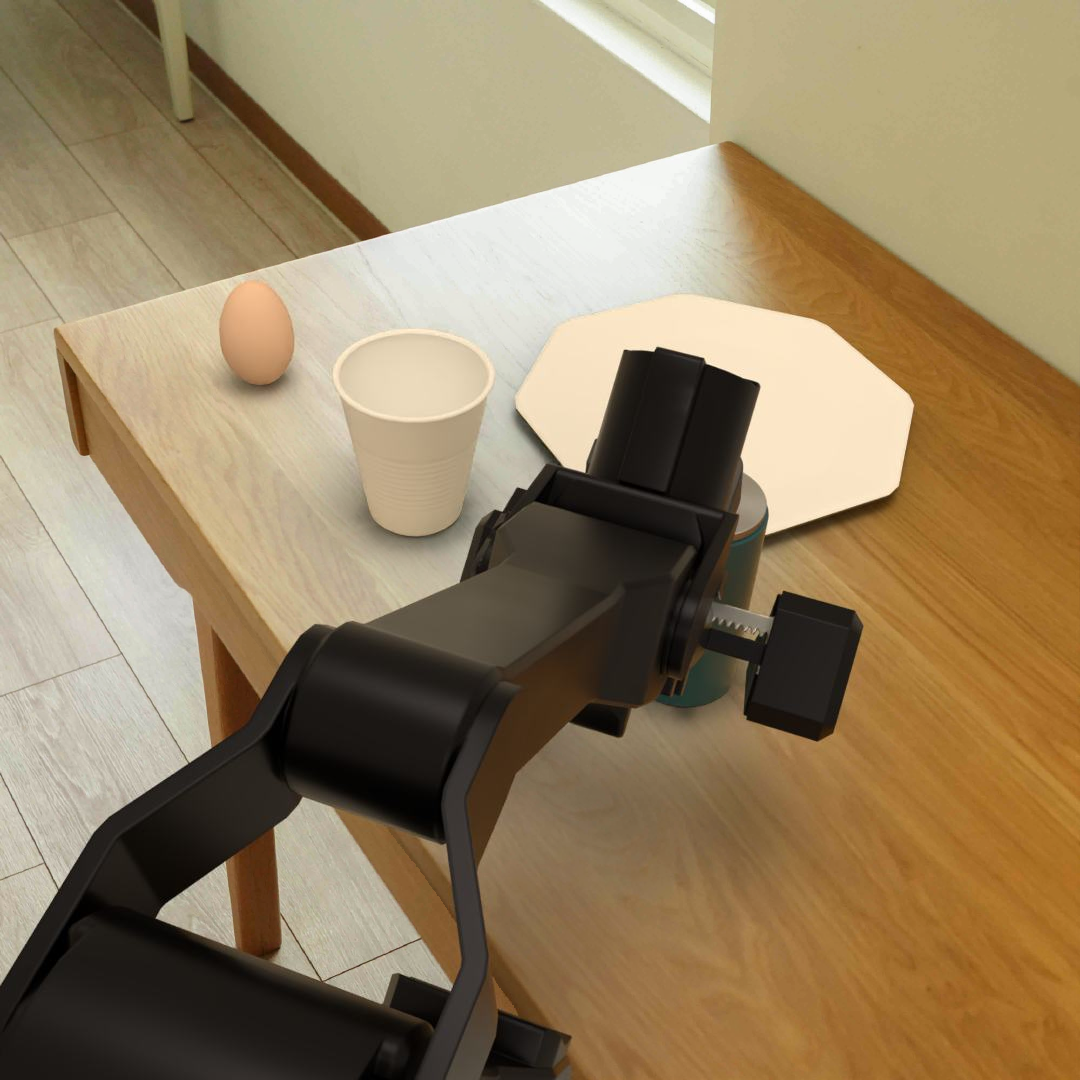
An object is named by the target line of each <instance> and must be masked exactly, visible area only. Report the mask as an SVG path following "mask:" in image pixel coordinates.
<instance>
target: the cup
mask: <svg viewBox="0 0 1080 1080" xmlns="http://www.w3.org/2000/svg"><path fill="white" fill-rule="evenodd" d="M331 373H332V374H331V381H332V384H333V388H334V390H335V393H337V394H338V396H339V398H340V401H341V406H342V410H343V413H344V418H345V421H346V424H347V425H346V426H347V430H348V433H349V437H350V440H351V444H352V447H353V452H354V456H355V459H356V463H357V468H358V471H359V474H360V479H361V482H362V483H361V484H362V486H363V487H362V488H363V490H364V495H365V498H366V502H367V507H368V509H369V513H370V516H371V517H372V518H373V520H374V521H375V522H376V523H377V524H378V525H379V526H380V527H382V528H384V529H385V530H388V531H390V532H392V533H394V534H397V535H401V536H407V537H425V536H430V535H433V534H437V533H439V532H441V531H443V530H445V529H447V528H448V527H450V526H452V525H453V524H454V523H455V522H456V521H457V520H458V519H459V517H460V516H461V514H462V510H463V505H464V503H465V498H466V493H467V489H468V484H469V481H470V474H471V470H472V466H473V462H474V458H475V453H476V448H477V445H478V440H479V435H480V431H481V426H482V423H483V420H484V419H483V418H484V414H485V411H486V406H487V401H488V397H489V395H490V394H491V392H492V391H493V389H494V385H495V383H496V371H495V367H494V364H493V362H492V360H491V359H490V357H489V356H488V355H487V354H486V353H485V351H484V350H483V349H481V348H480V347H479V346H478V345H476V344H475V343H473V342H471V341H470V340H467V339H465V338H464V337H461V336H458V335H456V334H453V333H451V332H446V331H443V330H442V331H441V330H438V329H437V330H436V329H427V328H399V329H398V328H397V329H390V330H385V331H381V332H376V333H373V334H371V335H368V336H365V337H363V338H361V339H359V340H357V341H356V342H353V343H352V344H350V345H349V346H348V347H347V348H346V349H344V350H343V351H342V352H341V353H340V354H339V356H338V357H337V358H336V360H335V362H334V365H333V368H332V372H331Z"/></svg>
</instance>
